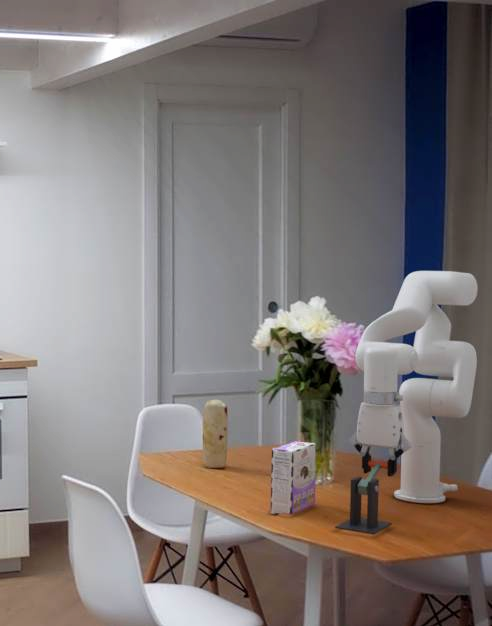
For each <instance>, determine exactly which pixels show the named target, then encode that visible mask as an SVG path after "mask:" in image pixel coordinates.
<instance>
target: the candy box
mask: <svg viewBox="0 0 492 626" xmlns="http://www.w3.org/2000/svg"><path fill="white" fill-rule="evenodd" d="M316 445H317V444H316V443H315V442H307V441H298V440H295V441H292V442H289V443H286V444H283V445H280V446H277V447H273V448H272V449H271V470H270V471H271V476H270V511H269V512H270V514H272V515H276V516H278V515H281V514H287V515H293V514H295V513H297V512H300V511H302V510H305V509H307V508H309V507H312V506H314V505H315V504H316V461H317V459H316V458H317V457H316V455H317V453H316V452H317V451H316V450H317V447H316Z"/></svg>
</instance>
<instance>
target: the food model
mask: <svg viewBox="0 0 492 626" xmlns="http://www.w3.org/2000/svg"><path fill="white" fill-rule="evenodd" d="M228 424H229V420H228V405H227V403H226V402H223V401H222V400H220V399H211V400H207V401H206V402H205V405H204V407H203V411H202V460H203V464H204V466H205V467H207V468H208V469H213V468H219V469H222V468H224V467H226V464H227V456H228V443H229V441H228V436H229V435H228V433H229V429H228V428H229V425H228Z"/></svg>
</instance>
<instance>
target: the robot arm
mask: <svg viewBox="0 0 492 626" xmlns="http://www.w3.org/2000/svg"><path fill="white" fill-rule="evenodd" d="M477 296H478V282H477V279H476V278H475V276H474V275H473V274H472V273H469V272H461V271H454V270H453V271H452V270H451V271H450V270H416V271H412V272H410V273H409V274H407V276H405V278H404V279H403V282H402V285H401V287H400V289H399V291H398V295H397V297H396V299H395V301H394V305H393V308H392V309H391V310H390V311H387V312H386V313H384V314H382V315H381V316H379V317H378V318H377V319H375V320H373V321H372V322H371V323H370V324H369V325H367V326H366V328H365V329H364V330H363V332H362V335H361V337H360V339H359V342H358V344H357V347H356V350H355V358H354V359H355V364H356V367H357V368H358V369H359V370H360V371H362V372H363V402H360V406H359V411H358V417H357V423H356V424H357V425H356V430H355V432H354V433H353V434H352V435H351V436H350V437H349V438H348V442H349V443H350V444H351V445H352V446H353V447H354V449H355V450H356V451H357V452H358V453H359V455H360V456H361V469H362V470H363V474H368V473H370V472H371V471H372V467H369V466H368V461H369V460H370V461H372V454H370V452H371V449H372V447H381V448H387V452H388V456H389V459H388V460H387V463H388V469H387V473H386V474H387V475H386V476H387V477H389V478H390V477H394V476H395V474H396V473H397V471H398V459H399V458H400V488H399V489H396V490H394V492H393V496H394V498H396V499H397V500H401V501H403V502H407V503H417V504H440V503H444V502H445V501H446V495H445V494H446V493H447V492H449V493H456V492H458V484H456V483H454V484H452V483H451V484H449V483H444V482H442V481H440V479H441V478H440V477H441V476H440V474H441V443H442V442H441V441H442V440H441V439H442V437H441V436H442V434H441V429H440V427H439V425H438V424H437V422H436V421H435V420H434V418H433V417H438V418H439V417H441V418H450V419H461V418H465V417H466V416H467V415H468V414H469V412H470V410H471V406H472V400H473V392H474V386H475V379H476V375H477V365H478V358H477V357H478V356H477V352H476V351H477V350H476V349H475V346H474V345H472V344H471V343H470V342H467V341H461V340H450V338H451V331H452V323H451V321H450V319H449V317H448V316H447V314H446V313H445V312H444V311H443V310H442V309H441V308H440V306H439V305H441V306H470V305H471V304H473V303H474V301H475V300H476V298H477ZM414 332H415V335H414V340H413V346H412V345H410V344H407V343H402V342H401V343H399V342H398V343H397V342H387V341H388V340H391V339H395V338H397V337H402V336H406V335H409V334H411V333H414ZM413 372H414V373H416V374H419V375H423V376H429V377H430V376H431V377H442V378H453V379H452V380H448V379H437V378H426V377H412V378H408V379H407V380H404V381H403V382H402V383H401V385H400V386H399V390H398V375H402V376H404V375H409V374H411V373H413ZM398 446H401V447H400V448H397V447H398Z"/></svg>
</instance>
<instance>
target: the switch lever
mask: <svg viewBox="0 0 492 626" xmlns="http://www.w3.org/2000/svg"><path fill="white" fill-rule="evenodd" d="M368 466H369V467H371V471H370V472H369V474H368V475H367V476H366V479H365V478H362V479H361V481H360V482H359V484H358V485H357V486H358V493H359V494H361V496H368V482H369V481H371V480H373V479H376V476H377V475H378V473H379V472H380V470H381V469H385V470H388V462H384V461H378V460H371V461H370V460H369V461H368Z"/></svg>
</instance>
